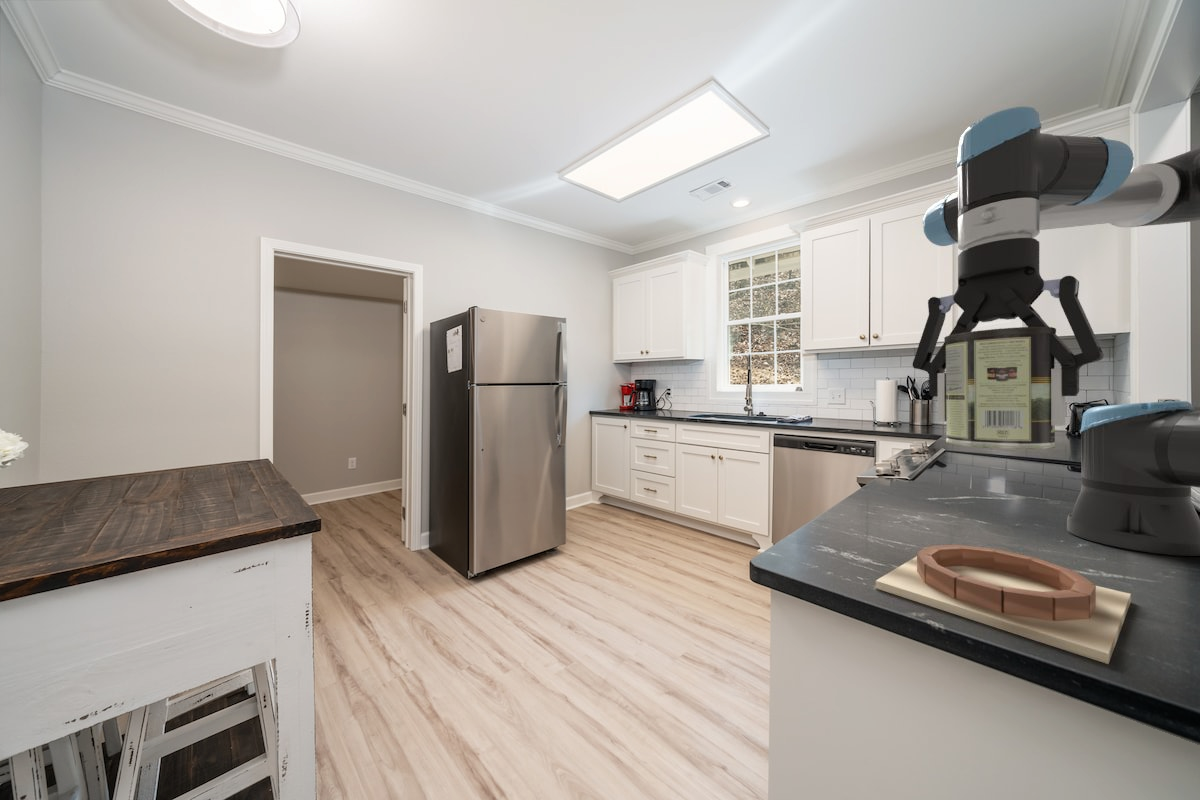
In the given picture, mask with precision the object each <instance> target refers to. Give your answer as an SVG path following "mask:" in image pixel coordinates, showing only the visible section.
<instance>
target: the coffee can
mask: <svg viewBox="0 0 1200 800" xmlns="http://www.w3.org/2000/svg"><path fill="white" fill-rule="evenodd" d="M1050 333H1053V334H1056V333H1057V328H1055V327H1052V326H1051V327H1050V326H1049V327H1028V326H1024V327H1022V326H1021V327H1020V326H1019V327H1007V328H1005V327H1003V328H993V329H984V330H983V329H982V330H975V331H974V330H972V331H971V332H965V333H959V334H953V335H950V334H949V335H946V336H945V337H943V338H944V342H945V343H946V369H945V373H946V421H945V422H946V436H945V437H946V439H945V442H946V443H947V444H951V445H955V446H962V447H963V446H964V447H974V448H982V449H983V448H985V449H989V448H990V449H1002V450H1003V449H1004V450H1005V449H1006V450H1049V449H1055V448H1056V447H1057V446H1056V443H1055V442H1056V437H1055V436H1056V426H1051V369H1055V363H1056V362H1055V360H1056V359H1055V357H1054V356H1053V355H1052V354H1051V353H1050ZM1056 335H1057V334H1056Z"/></svg>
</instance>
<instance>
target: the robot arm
mask: <svg viewBox="0 0 1200 800" xmlns="http://www.w3.org/2000/svg"><path fill="white" fill-rule="evenodd" d="M1041 129H1042V123H1041V122H1040V113H1039V111H1037V110H1036V109H1035V108H1034V107H1031V106H1017V107H1016V106H1015V107H1014V106H1013V107H1010V108H1006V109H1001V110H999V111H996V112H994V113H990V114H989V115H987V116H984V117H982V118H981V119H979V120H978V121H976V122H974V123H973V124H971V125H970V126H969V127H967V129H965V131H964V132H963V133H962V134H961V136H960V138H959V141H958V151H957V158H956V159H957V161H956V165H955V167H956V169H957V172H956V173H957V191H956V192H954V193H951V194H947V196H945V197H944V198H942V199H940V200H939V201H937V202H935V203H934V204H932V205H931V206H930V207H929V208H928V209H927V210H926V212H925V214H924V216H923V221H922V228H923V233H924V235H925V237H926V239H927V240H928V241H929V242H931V244H933V245H936V246H939V247H946V246H947V247H949V246H951V245H955V244H957V248H958V250H960V251H962V252H960V253H959V254H958V256H957V289H956V290H955V292H954V293H953V294H952V295H947V296H941V297H936V296H932V297H930V298H929V299H928V300H927V306H928V308H927V309H928V316H927V319H926V322H925V325H924V327H923V332H922V334H921V336H920V339H919V344H918V347H917V350H916V352H915V355H914V358H913V361H912V367H913V369H916V370H920V371H923V372H926V373H927V374H928V394H929V395H930V397H937V422H942V423H943V422H946V343H945V341H944V342H943V344H942V345H941V347H940V348H939V350H938V351H937V353H936V354H935V356H934V355H933V354H934V352H935V349H936V346H937V344H938V341H939V338H940V335H941V331H942V329H943V325H944V324H945V323H944V322H945V320H946V316H947V313H949V312H950V311H951V309H952V306H953V305H954V304H956V305H957V306H958V307H959V308H960V309H961V310H962V311H963V312H962V313H961V315H960V316H959V318H958V319H957V321H956V324H955V326H954V328H952V331H951V332H950V334H949V335H953V334H959V333H965V332H973V331H974V329H975V328H976V327H977V326H978V324H979V323H980V322H981V323H989V322H993V321H996V320H1006V321H1007V320H1015V319H1016V318H1019V319H1020V320H1021V321H1022V322H1023V323H1024V324H1025V325H1026V327H1050V326H1049V325H1048V324H1047V323H1046V322H1045V320H1043V318H1042V316H1041V315H1040V314H1039V313H1038V312H1037V311H1036V310H1035V308H1033V306H1032V305H1033V303H1035V301H1036V300H1037V299H1038V298H1039V297H1040V296H1041V294H1043V292H1045V291H1048V292H1049V293H1050V296H1051V297H1053V298H1055V299H1058V300H1059V304H1060V305H1061V308H1062V311H1063V313H1064V314H1065V317H1066V319H1067V321H1068V324H1069V327H1070V328H1071V330H1072V333H1073V335H1074V337H1075V340H1076V342H1077V344H1078V346H1079V349H1080V351H1081V352H1080V353H1077V354H1074V353H1073V352H1072V351H1071V349H1070V348H1069V347H1068V346H1067V345H1066V344H1065V343H1064V342H1063V340H1061V339H1060V337H1059V336H1058V335H1057V334H1053V333H1050V353H1051V354H1052V355H1053V356H1054V360H1056V361H1057V362H1058V363H1059V365H1060V366H1061V367H1060V368H1054V369H1051V426H1055V427H1058V426H1059V427H1061V426H1064V425H1066V397H1077V396H1078V394H1079V392H1080V369H1081V368H1082V367H1083V366H1086V365H1088V364H1091V363H1095V362H1099V361H1101V360H1103V358H1104V355H1105V354H1104V351H1103V350H1102V348H1101V345H1100V343H1099V341H1098V339H1097V337H1096V335H1095V333H1094V330H1093V328H1092V325H1091V324H1090V321H1089V319H1088V317H1087V315H1086V313H1085V310H1084V307H1083V306H1082V304H1081V302H1080V299H1079V291H1080V290H1079V289H1080V280H1078V279H1077V278H1076V277H1075V276H1073V275H1065V276H1063V277H1061V278H1057V279H1048V280H1044V279H1043V278H1042V276H1041V273H1040V241H1039V240H1038V239H1036V237H1037V236H1038V235H1039V234H1040V231H1045V230H1054V229H1064V228H1074V227H1083V226H1086V227H1087V226H1093V225H1103V224H1110V225H1112V226H1115V227H1116V228H1117V227H1118V228H1137V227H1148V226H1159V225H1160V226H1161V225H1170V224H1179V223H1181V224H1182V223H1190V222H1198V221H1200V146H1199V147H1196V148H1193V149H1192V150H1189V151H1187V152H1184V153H1181V154H1179V155H1176V156H1173V157H1170V158H1168V159H1164V160H1162V161H1159V162H1155V163H1152V162H1151V163H1145V164H1140V165H1137V166H1134V159H1135V158H1134V153H1133V150H1132V148H1131V147H1130V146H1129V145H1128V144H1126V143H1125V142H1123V141H1120V140H1115V139H1109V138H1108V139H1107V138H1105V137H1103V136H1077V135H1076V136H1075V135H1056V134H1055V135H1053V134H1050V133H1041ZM933 356H934V357H933ZM932 358H933V359H932ZM1079 433H1080V446H1081V447H1080V452H1081V453H1080V455H1081V458H1080V463H1081V464H1080V465H1081V468H1080V469H1081V470H1080V471H1081V473H1080V474H1081V475H1080V476H1081V488H1080V492H1079V493H1078V496H1077V499H1076V501H1075V503H1074V505H1073V508H1072V512H1071V513H1069V514H1068V515H1067V518H1066V530H1067V532H1069V533H1070V534H1072V535H1074V536H1077V537H1078V538H1081V539H1085V540H1088V541H1091V542H1095V543H1099V544H1102V545H1107V546H1111V547H1117V548H1121V549H1127V550H1133V551H1137V552H1143V553H1150V554H1159V555H1170V556H1171V555H1172V556H1181V557H1183V556H1185V557H1187V556H1189V557H1199V556H1200V517H1199V515H1198V513H1197V511H1196V509H1195V506H1194V505H1193V501H1192V488H1199V489H1200V410H1195V407H1194V406H1193V405H1192V404H1191V402H1189V401H1186V400H1185V401H1184V400H1176V401H1175V400H1173V401H1152V402H1137V403H1122V404H1121V403H1120V404H1110V405H1101V406H1093V407H1090V408H1088V409H1086V410H1085V411H1084V412H1083V413H1082V418H1081V426H1080V430H1079Z"/></svg>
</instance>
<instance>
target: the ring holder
mask: <svg viewBox="0 0 1200 800" xmlns="http://www.w3.org/2000/svg"><path fill="white" fill-rule="evenodd" d="M875 589H877V590H880V591H883V592H885V593H886V592H887V593H890V594H892V595H895V596H899V597H901V598H905V599H907V600H910V601H914V602H916V603H920V604H922V605H925V606H928V607H932V608H935V609H937V610H938V609H939V610H940V611H945V612H947V613H950V614H954V615H957V616H960V617H963V618H965V619H969V620H972V621H975V622H978V623H980V624H983V625H987V626H989V627H993V628H996V629H999V630H1002V631H1005V632H1008V633H1010V634H1015V635H1018V636H1021V637H1024V638H1026V639H1028V640H1029V639H1030V640H1033V641H1036V642H1038V643H1042V644H1045V645H1048V646H1051V647H1054V648H1058V649H1060V650H1064V651H1065V652H1069V653H1072V654H1075V655H1079V656H1080V657H1081V656H1082V657H1084V658H1088V659H1091V660H1094V661H1097V662H1101V663H1103V664H1106V665H1109V664H1110V661H1111V659H1112V655H1113V653H1114V649H1115V647H1116V645H1117V641H1118V639H1119V636H1120V633H1121V631H1122V628H1123V624H1124V622H1125V620H1126V616H1127V614H1128V611H1129V608H1130V605H1131V602H1132V600H1131V599H1132V596H1131V595H1132V593H1129V592H1125V591H1120V590H1115V589H1111V588H1108V587H1103V586H1099V585H1096V584H1095V583H1093V582H1092V581H1091V580H1089V579H1087V578H1086V577H1084V576H1082V575H1081V574H1080V573H1078V572H1077V571H1075V570H1072V569H1069V568H1067V567H1064V566H1061V565H1059V564H1055V563H1052V562H1051V561H1046V560H1043V559H1041V558H1038V557H1034V556H1029V555H1024V554H1021V553H1016V552H1011V551H1007V550H1003V549H998V548H990V547H984V546H983V547H981V546H972V545H963V544H941V545H940V544H939V545H928V546H926V547H924V548H922V549H921V550H919V551H917V552H916V556H915V557H913V558H912V559H910V560H908V561H906V562H905V563H903V564H902V565H899V566H898V567H896V568H894V569H893V570H891V571H889V572H888V573H886V574H884V575H883V576H881V577H879V578H878V579H876V580H875Z"/></svg>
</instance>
